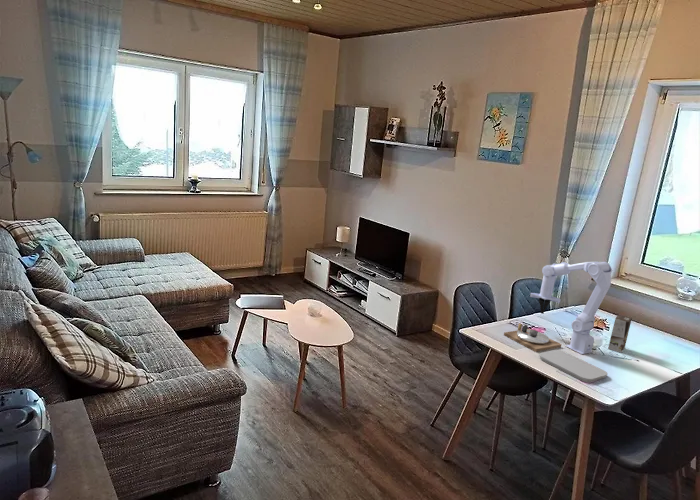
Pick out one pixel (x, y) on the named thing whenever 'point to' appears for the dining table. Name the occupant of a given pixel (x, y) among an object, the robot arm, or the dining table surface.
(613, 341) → the coffee box
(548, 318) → the dining table surface
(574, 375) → the tablet
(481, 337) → the dining table surface
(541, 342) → the white round dish
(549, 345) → the base board
